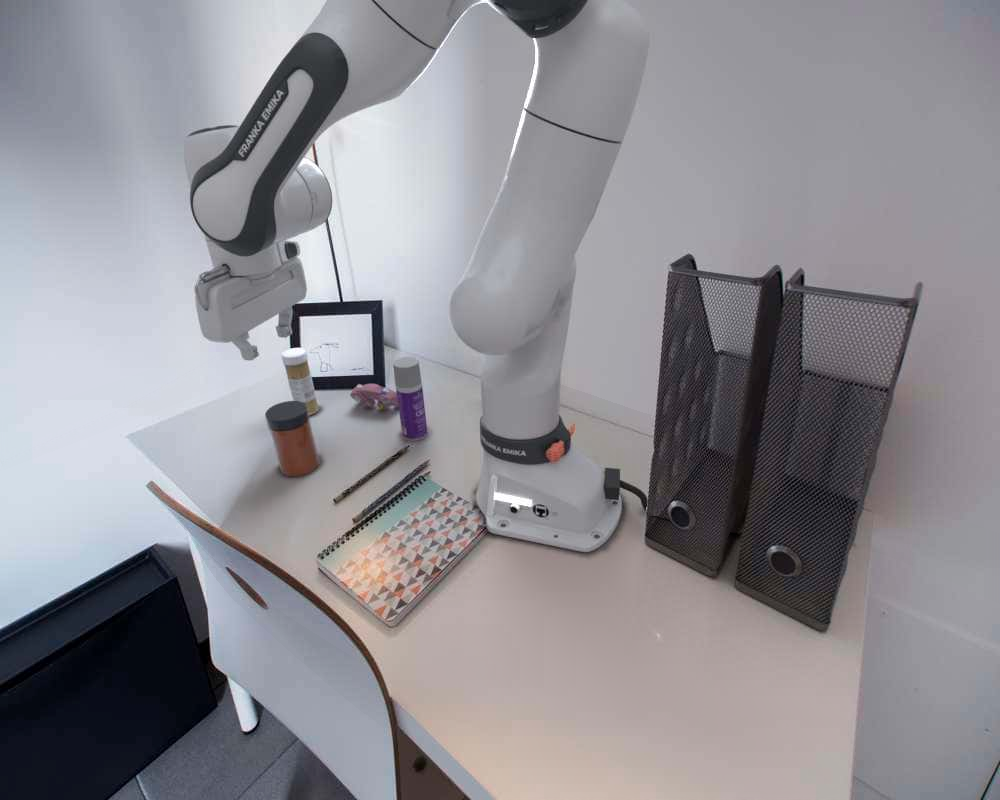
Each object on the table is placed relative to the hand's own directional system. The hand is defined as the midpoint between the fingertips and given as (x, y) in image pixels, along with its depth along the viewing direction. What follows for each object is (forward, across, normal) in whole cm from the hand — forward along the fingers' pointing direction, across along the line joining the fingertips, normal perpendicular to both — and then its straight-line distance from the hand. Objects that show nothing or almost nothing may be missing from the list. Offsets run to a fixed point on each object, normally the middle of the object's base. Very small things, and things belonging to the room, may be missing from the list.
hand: (269, 346), depth 81 cm
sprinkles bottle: (+23, +17, +9) cm, 30 cm away
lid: (+12, 0, 0) cm, 12 cm away
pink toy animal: (+23, +22, -5) cm, 32 cm away
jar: (+22, 0, 0) cm, 22 cm away
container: (+22, +13, -16) cm, 31 cm away
